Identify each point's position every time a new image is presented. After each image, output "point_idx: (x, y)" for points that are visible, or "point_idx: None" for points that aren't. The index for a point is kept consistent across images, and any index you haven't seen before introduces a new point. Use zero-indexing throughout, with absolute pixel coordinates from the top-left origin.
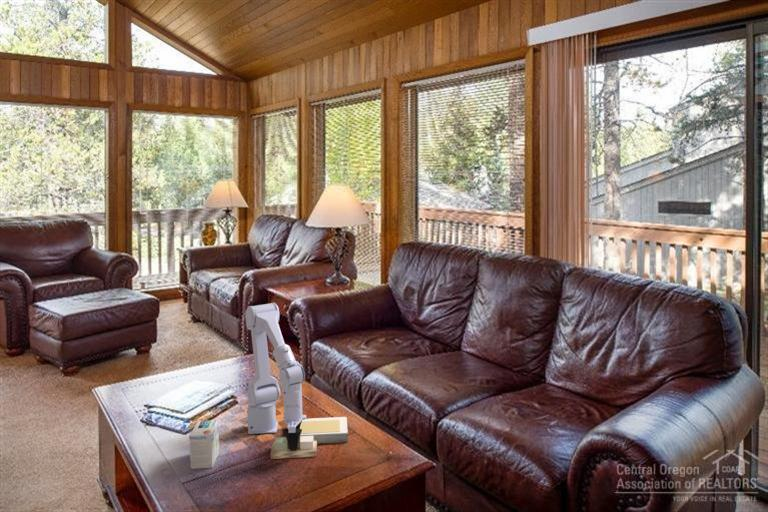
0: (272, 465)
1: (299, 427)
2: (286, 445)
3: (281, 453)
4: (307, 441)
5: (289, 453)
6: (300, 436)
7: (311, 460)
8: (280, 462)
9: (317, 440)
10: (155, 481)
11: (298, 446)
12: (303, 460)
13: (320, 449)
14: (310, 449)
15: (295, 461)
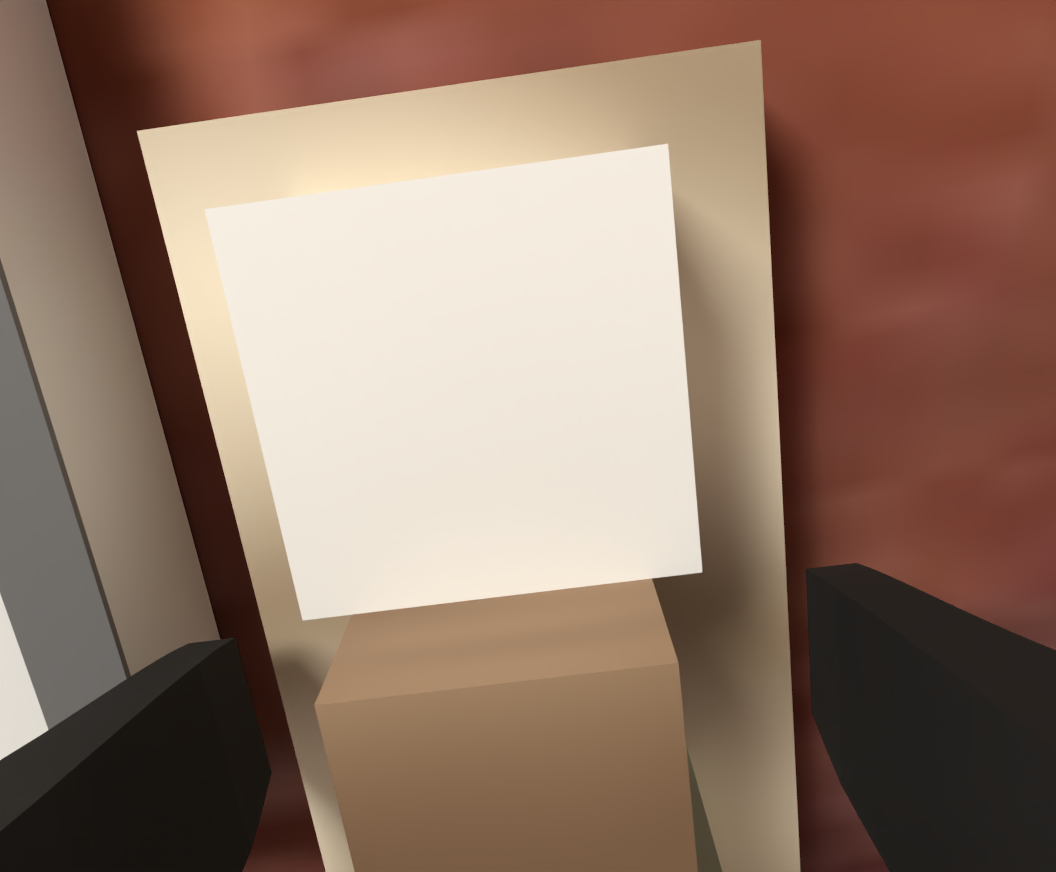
0: None
1: (22, 836)
2: (712, 847)
3: (791, 822)
4: (676, 343)
5: (783, 676)
6: (407, 630)
7: (904, 155)
8: None
9: (36, 139)
10: None
11: None
12: (886, 337)
13: (369, 16)
14: None
15: (911, 491)
